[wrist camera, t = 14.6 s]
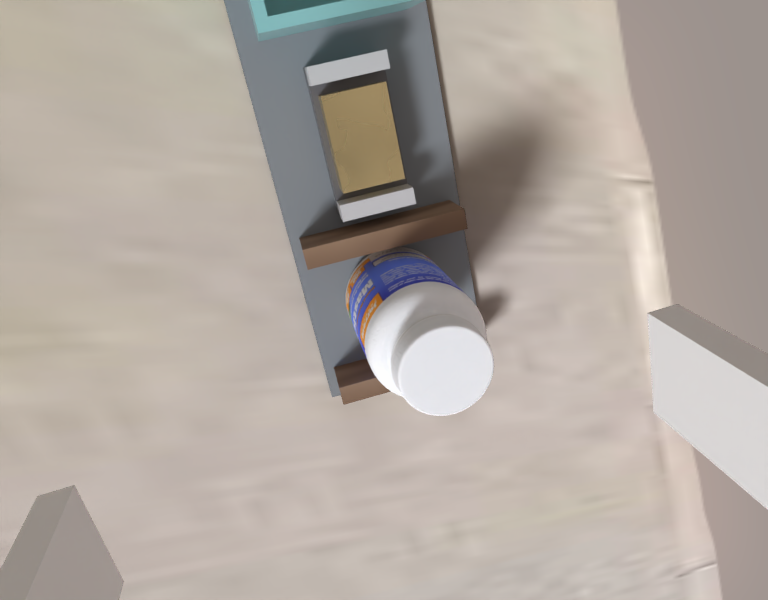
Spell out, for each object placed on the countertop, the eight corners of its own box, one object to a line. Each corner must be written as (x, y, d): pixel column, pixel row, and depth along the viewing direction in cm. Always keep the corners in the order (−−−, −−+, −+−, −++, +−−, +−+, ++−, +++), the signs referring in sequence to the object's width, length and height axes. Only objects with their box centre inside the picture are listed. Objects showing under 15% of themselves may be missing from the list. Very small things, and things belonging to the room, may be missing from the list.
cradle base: (303, 68, 29) (306, 67, 27) (377, 51, 29) (386, 49, 27) (337, 213, 31) (343, 222, 29) (406, 196, 32) (416, 203, 30)
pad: (318, 95, 28) (320, 96, 27) (381, 81, 29) (386, 81, 28) (340, 189, 30) (343, 193, 29) (399, 175, 30) (405, 178, 29)
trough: (299, 237, 31) (302, 249, 29) (449, 199, 32) (464, 208, 30) (337, 382, 34) (343, 404, 32) (474, 345, 35) (489, 363, 33)
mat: (184, -145, 26) (183, -148, 25) (393, -183, 27) (394, -186, 26) (331, 393, 35) (332, 397, 35) (482, 351, 36) (484, 354, 36)
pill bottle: (337, 253, 32) (369, 320, 23) (438, 236, 33) (507, 295, 24) (351, 349, 34) (386, 444, 25) (446, 331, 35) (513, 417, 26)
